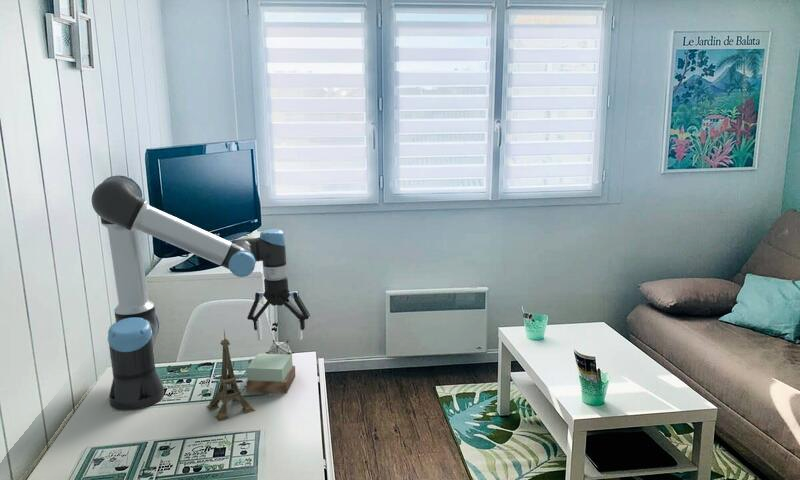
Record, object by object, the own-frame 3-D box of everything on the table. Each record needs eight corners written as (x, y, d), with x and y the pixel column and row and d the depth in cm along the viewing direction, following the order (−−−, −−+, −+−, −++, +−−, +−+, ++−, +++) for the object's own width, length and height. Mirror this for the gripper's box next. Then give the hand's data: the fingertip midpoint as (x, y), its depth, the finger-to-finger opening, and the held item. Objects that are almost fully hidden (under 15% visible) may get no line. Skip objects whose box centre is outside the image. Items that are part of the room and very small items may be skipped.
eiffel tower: (241, 396, 195) (235, 317, 189) (254, 410, 186) (249, 328, 180) (206, 406, 189) (199, 325, 183) (218, 421, 180) (211, 336, 175)
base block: (247, 393, 197) (246, 381, 196) (258, 376, 209) (257, 365, 208) (286, 394, 196) (286, 382, 195) (295, 377, 208) (294, 365, 207)
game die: (286, 372, 219) (302, 346, 220) (279, 374, 211) (296, 347, 212) (264, 357, 221) (281, 332, 221) (256, 358, 212) (273, 332, 213)
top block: (247, 380, 197) (246, 368, 196) (259, 365, 208) (258, 353, 207) (282, 381, 196) (281, 369, 195) (292, 366, 206) (292, 354, 206)
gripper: (234, 281, 207) (239, 343, 212) (311, 280, 206) (315, 343, 211) (241, 274, 215) (246, 334, 220) (316, 273, 213) (319, 334, 218)
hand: (280, 339), depth 215 cm, fingers open, 13 cm apart
